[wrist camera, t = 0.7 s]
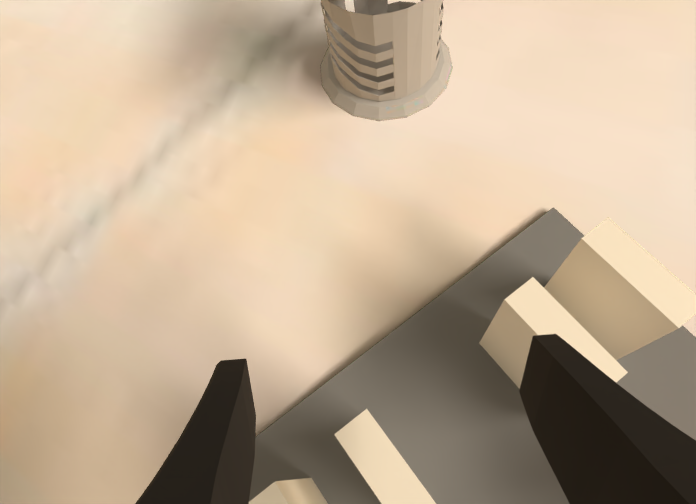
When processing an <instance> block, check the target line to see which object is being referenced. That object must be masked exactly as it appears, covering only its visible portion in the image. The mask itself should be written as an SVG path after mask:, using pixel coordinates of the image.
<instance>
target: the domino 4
mask: <svg viewBox="0 0 696 504" xmlns="http://www.w3.org/2000/svg"><path fill="white" fill-rule="evenodd" d="M544 288H545V289H546V290H547V291H548V292H549V293H550V294H551V295H552V296H553V297H554V299H555V300H556V301H557V302H558V303H559V304H560V305H561V306H562V307H563V308H564V309H565V310H566V311H567V312H568V313H569V314H570V315H571V316H572V317H573V318H574V319H575V320H576V321H577V322H578V323H579V324H580V325H581V326H582V327H583V328H584V329H585V330H586V331H587V332H588V333H589V334H590V335H591V336H592V337H593V338H594V339H595V340H596V341H597V342H598V343H599V344H600V345H601V346H602V347H603V348H604V349H605V350H606V351H607V352H608V353H609V354H610V355H611V356H612V357H613V358H614V359H615V360H618V359H620V358H622V357H624V356H626V355H628V354H630V353H632V352H634V351H636V350H638V349H640V348H641V347H643V346H645V345H647V344H649V343H651V342H653V341H655V340H657V339H659V338H661V337H663V336H665V335H667V334H669V333H671V332H673V331H675V330H677V329H679V328H680V327H681V326H682V325H683V324H685V323H686V322H687V321H688V320H689V319H690V318H691V317H693V316H694V315H695V314H696V294H695V293H694V292H693V291H692V290H691V289H690V288H688V287H687V286H686V285H685V284H684V283H683V282H682V281H680V280H679V279H678V278H677V277H676V276H675V275H674V274H672V273H671V272H670V271H669V270H668V269H667V268H666V267H664V266H663V265H662V264H661V263H660V262H659V261H658V260H656V259H655V258H654V257H653V256H652V255H651V254H650V253H648V252H647V251H646V250H645V249H644V248H643V247H642V246H641V245H639V244H638V243H637V242H636V241H635V240H634V239H633V238H631V237H630V236H629V235H628V234H627V233H626V232H625V231H623V230H622V229H621V228H620V227H619V226H618V225H617V224H615V223H614V222H613V221H612V220H611V219H610V218H609V217H608V218H607V219H605V220H604V221H603V222H602V223H600V224H599V225H598V226H596V227H595V228H594V229H593V230H591V231H590V232H589V233H588V234H586V235H585V236H584V237H583V238H581V240H580V241H579V242H578V244H577V245H576V246H575V248H574V249H573V250H572V251H571V253H570V254H569V255H568V257H567V258H566V259H565V261H564V262H563V263H562V265H561V266H560V267H559V268H558V270H557V271H556V272H555V274H554V275H553V276H552V278H551V279H550V280H549V282H548V283H547V284H546V286H545V287H544Z"/></svg>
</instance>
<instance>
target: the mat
mask: <svg viewBox="0 0 696 504" xmlns="http://www.w3.org/2000/svg"><path fill="white" fill-rule="evenodd" d="M583 237H584V235H583V234H582V233H581V232H580V231H579V230H578V229H576V228H575V227H574V226H573V225H572V224H571V223H570V222H569V221H568V220H567V219H566V218H564V217H563V216H562V215H561V214H560V213H559V212H558V211H557V210H556V209H555V208H552V209H551V210H549V211H548V212H547V213H546V214H544V215H543V216H542V217H540V218H539V219H538V220H536V221H535V222H534V223H533V224H531V225H530V226H529V227H527V228H526V229H525V230H523V231H522V232H521V233H520V234H518V235H517V236H516V237H514V238H513V239H512V240H510V241H509V242H508V243H507V244H505V245H504V246H503V247H501V248H500V249H499V250H498V251H496V252H495V253H494V254H492V255H491V256H490V257H488V258H487V259H486V260H485V261H483V262H482V263H481V264H479V265H478V266H477V267H475V268H474V269H473V270H472V271H470V272H469V273H468V274H466V275H465V276H464V277H462V278H461V279H460V280H459V281H457V282H456V283H455V284H453V285H452V286H451V287H449V288H448V289H447V290H446V291H444V292H443V293H442V294H440V295H439V296H438V297H437V298H435V299H434V300H433V301H431V302H430V303H429V304H427V305H426V306H425V307H424V308H422V309H421V310H420V311H418V312H417V313H416V314H414V315H413V316H412V317H411V318H409V319H408V320H407V321H405V322H404V323H403V324H401V325H400V326H399V327H398V328H396V329H395V330H394V331H392V332H391V333H390V334H388V335H387V336H386V337H385V338H383V339H382V340H381V341H379V342H378V343H377V344H375V345H374V346H373V347H372V348H370V349H369V350H368V351H366V352H365V353H364V354H363V355H361V356H360V357H359V358H357V359H356V360H355V361H353V362H352V363H351V364H350V365H348V366H347V367H346V368H344V369H343V370H342V371H340V372H339V373H338V374H337V375H335V376H334V377H333V378H331V379H330V380H329V381H327V382H326V383H325V384H324V385H322V386H321V387H320V388H318V389H317V390H316V391H314V392H313V393H312V394H311V395H309V396H308V397H307V398H305V399H304V400H303V401H302V402H300V403H299V404H298V405H296V406H295V407H294V408H292V409H291V410H290V411H289V412H287V413H286V414H285V415H283V416H282V417H281V418H279V419H278V420H277V421H276V422H274V423H273V424H272V425H270V426H269V427H268V428H266V429H265V430H264V431H263V432H261V433H260V434H259V435H257V436H256V437H255V458H254V466H253V474H252V481H251V489H250V497H249V502H250V501H251V500H252V499H253V498H255V497H256V496H257V495H258V494H260V493H261V492H262V491H263V490H265V489H266V488H267V487H268V486H270V485H271V484H272V483H274V482H275V481H284V480H293V479H303V478H312V480H313V481H314V483H315V484H316V486H317V487H318V489H319V490H320V492H321V494H322V495H323V497H324V498H325V500H326V501H327V503H328V504H381V502H380V501H379V499H378V498H377V496H376V495H375V493H374V492H373V490H372V489H371V488H370V486H369V485H368V483H367V482H366V480H365V479H364V477H363V476H362V474H361V473H360V471H359V470H358V469H357V467H356V466H355V464H354V463H353V461H352V460H351V458H350V457H349V455H348V454H347V453H346V451H345V450H344V448H343V447H342V445H341V444H340V442H339V441H338V439H337V438H336V436H335V435H334V434H335V433H337V432H338V431H339V430H340V429H342V428H343V427H344V426H345V425H347V424H348V423H349V422H350V421H352V420H353V419H354V418H356V417H357V416H358V415H359V414H361V413H362V412H363V411H364V410H366V409H368V411H369V412H370V414H371V415H372V416H373V418H374V419H375V420H376V422H377V423H378V425H379V426H380V427H381V429H382V430H383V431H384V433H385V434H386V435H387V437H388V438H389V440H390V441H391V442H392V444H393V445H394V446H395V448H396V449H397V451H398V452H399V453H400V455H401V456H402V457H403V459H404V460H405V462H406V463H407V464H408V466H409V467H410V468H411V470H412V471H413V472H414V474H415V475H416V477H417V478H418V479H419V481H420V482H421V483H422V485H423V486H424V488H425V489H426V490H427V492H428V493H429V494H430V496H431V497H432V499H433V500H434V501H435V503H436V504H569V502H568V500H567V498H566V496H565V494H564V492H563V490H562V488H561V486H560V484H559V482H558V480H557V478H556V476H555V474H554V472H553V470H552V468H551V466H550V464H549V462H548V460H547V458H546V456H545V454H544V452H543V450H542V448H541V446H540V444H539V442H538V440H537V438H536V436H535V434H534V432H533V430H532V427H531V424H530V422H529V419H528V416H527V414H526V411H525V408H524V405H523V402H522V399H521V396H520V393H519V390H520V389H519V388H518V387H517V386H516V384H515V383H514V382H513V381H512V380H511V379H510V378H509V376H508V375H507V374H506V373H505V372H504V371H503V370H502V369H501V367H500V366H499V365H498V364H497V363H496V362H495V361H494V359H493V358H492V357H491V356H490V355H489V354H488V353H487V351H486V350H485V349H484V348H483V347H482V346H481V345H480V344H479V342H480V341H481V339H482V337H483V335H484V334H485V332H486V330H487V329H488V327H489V325H490V323H491V322H492V320H493V318H494V316H495V315H496V313H497V311H498V310H499V308H500V306H501V304H502V303H503V301H504V299H506V298H507V297H508V296H509V295H511V294H512V293H513V292H514V291H516V290H517V289H518V288H520V287H521V286H522V285H523V284H525V283H526V282H527V281H528V280H530V279H531V278H532V277H534V278H535V279H536V280H537V281H538V282H539V283H540V284H541V285H542V286H543V287H545V286H546V284H547V283H548V282H549V280H550V279H551V278H552V276H553V275H554V274H555V272H556V271H557V270H558V268H559V267H560V266H561V265H562V263H563V262H564V261H565V259H566V258H567V257H568V255H569V254H570V253H571V251H572V250H573V249H574V248H575V246H576V245H577V244H578V242H579V241H580V240H581V238H583ZM616 361H617V362H618V363H619V364H620V365H621V366H622V367H623V368H624V369H625V370H626V371H627V372H628V373H627V374H626V375H625V376H623V377H622V378H621V379H620V380H619V381H618V382H616V383H617V384H618V385H620V386H621V387H622V388H624V389H625V390H626V391H627V392H629V393H630V394H631V395H633V396H634V397H635V398H636V399H638V400H639V401H640V402H642V403H643V404H644V405H646V406H647V407H648V408H650V409H651V410H653V411H654V412H655V413H657V414H658V415H660V416H661V417H662V418H664V419H665V420H666V421H668V422H669V423H671V424H672V425H673V426H675V427H676V428H678V429H679V430H681V431H682V432H684V433H685V434H687V435H688V436H690V437H691V438H693V439H694V440H696V337H694V336H693V335H692V334H691V333H690V332H689V331H688V330H687V329H686V328H685V327H683V326H681V327H680V328H679V329H677V330H675V331H673V332H671V333H669V334H667V335H665V336H663V337H661V338H659V339H657V340H655V341H653V342H651V343H649V344H647V345H645V346H643V347H641V348H640V349H638V350H636V351H634V352H632V353H630V354H628V355H626V356H624V357H622V358H620V359H618V360H616Z"/></svg>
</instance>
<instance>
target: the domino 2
mask: <svg viewBox="0 0 696 504" xmlns="http://www.w3.org/2000/svg"><path fill="white" fill-rule="evenodd" d="M334 435H335V436H336V438H337V439H338V441H339V442H340V444H341V445H342V447H343V448H344V450H345V451H346V453H347V454H348V455H349V457H350V458H351V460H352V461H353V463H354V464H355V466H356V467H357V469H358V470H359V471H360V473H361V474H362V476H363V477H364V479H365V480H366V482H367V483H368V485H369V486H370V488H371V489H372V490H373V492H374V493H375V495H376V496H377V498H378V499H379V501H380V502H381V504H436V503H435V501H434V500H433V499H432V497H431V496H430V494H429V493H428V492H427V490H426V489H425V488H424V486H423V485H422V483H421V482H420V481H419V479H418V478H417V477H416V475H415V474H414V472H413V471H412V470H411V468H410V467H409V466H408V464H407V463H406V462H405V460H404V459H403V457H402V456H401V455H400V453H399V452H398V451H397V449H396V448H395V446H394V445H393V444H392V442H391V441H390V440H389V438H388V437H387V435H386V434H385V433H384V431H383V430H382V429H381V427H380V426H379V425H378V423H377V422H376V420H375V419H374V418H373V416H372V415H371V414H370V412H369V411H368V409H366V410H364V411H363V412H362V413H361V414H359V415H358V416H357V417H356V418H354V419H353V420H352V421H350V422H349V423H348V424H347V425H345V426H344V427H343V428H342V429H340V430H339V431H338V432H337V433H335V434H334Z"/></svg>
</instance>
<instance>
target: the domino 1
mask: <svg viewBox="0 0 696 504" xmlns="http://www.w3.org/2000/svg"><path fill="white" fill-rule="evenodd" d="M249 504H328V503H327V501H326V500H325V498H324V497H323V495H322V494H321V492H320V490H319V489H318V487H317V486H316V484H315V483H314V481H313V480H312V478H303V479H293V480H284V481H275V482H274V483H272V484H271V485H270V486H268V487H267V488H266V489H265V490H263V491H262V492H261V493H260V494H258V495H257V496H256V497H255V498H253V499H252V500H251V501H250V502H249Z"/></svg>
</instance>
